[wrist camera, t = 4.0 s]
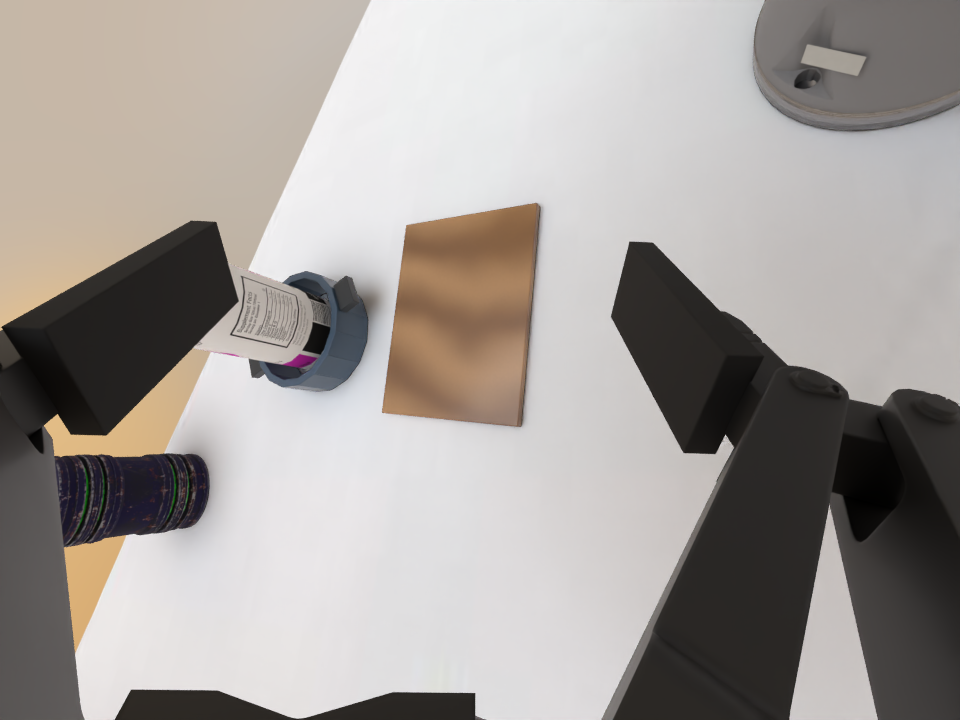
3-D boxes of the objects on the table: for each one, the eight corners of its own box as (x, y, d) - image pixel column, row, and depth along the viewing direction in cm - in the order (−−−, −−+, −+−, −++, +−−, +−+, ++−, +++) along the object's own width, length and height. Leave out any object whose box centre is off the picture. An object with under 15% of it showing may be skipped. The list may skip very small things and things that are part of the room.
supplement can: (320, 386, 50) (179, 365, 37) (294, 338, 54) (157, 304, 41) (363, 336, 48) (230, 295, 35) (333, 289, 52) (202, 237, 39)
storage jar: (160, 504, 62) (11, 519, 49) (185, 440, 62) (42, 439, 49) (191, 544, 57) (35, 572, 44) (219, 475, 56) (69, 483, 44)
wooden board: (410, 228, 47) (406, 224, 47) (540, 206, 40) (537, 202, 39) (386, 413, 45) (381, 412, 44) (521, 427, 37) (517, 426, 37)
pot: (272, 327, 56) (239, 319, 52) (363, 255, 50) (333, 239, 46) (291, 417, 52) (255, 414, 48) (394, 348, 46) (363, 339, 42)
